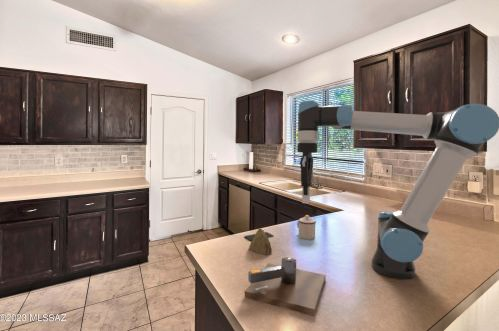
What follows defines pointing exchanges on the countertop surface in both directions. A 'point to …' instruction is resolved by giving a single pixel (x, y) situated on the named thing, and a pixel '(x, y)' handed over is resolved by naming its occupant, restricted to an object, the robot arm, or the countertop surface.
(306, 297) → the base board
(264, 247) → the rock
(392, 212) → the robot arm
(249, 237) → the phone
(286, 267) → the grey mallet
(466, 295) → the countertop surface
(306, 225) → the cream lidded jar
